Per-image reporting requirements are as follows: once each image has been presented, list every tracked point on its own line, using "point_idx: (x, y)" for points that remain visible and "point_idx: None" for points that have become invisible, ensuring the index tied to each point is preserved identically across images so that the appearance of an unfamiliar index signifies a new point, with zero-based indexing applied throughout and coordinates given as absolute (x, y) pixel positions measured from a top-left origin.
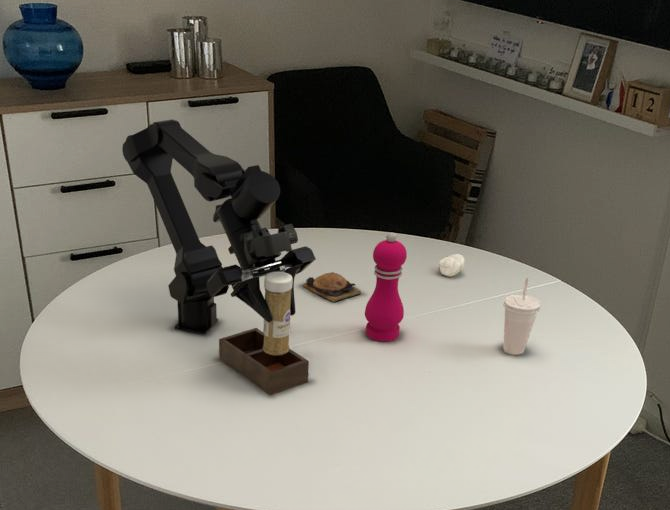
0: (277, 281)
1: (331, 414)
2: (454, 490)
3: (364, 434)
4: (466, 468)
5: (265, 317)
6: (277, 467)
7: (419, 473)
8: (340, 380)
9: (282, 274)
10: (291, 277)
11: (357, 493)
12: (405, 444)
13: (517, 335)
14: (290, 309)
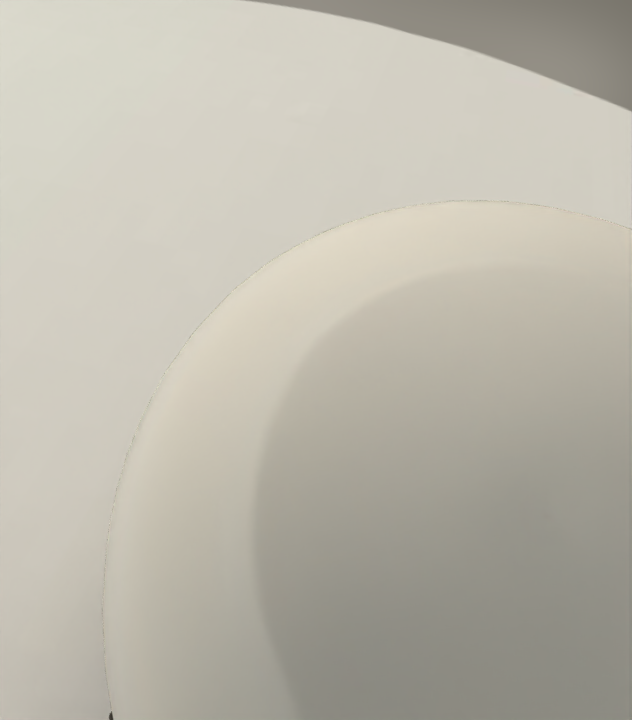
0: (605, 225)
1: (214, 307)
2: (98, 13)
3: (170, 200)
4: (20, 52)
5: None
6: (441, 142)
7: (131, 61)
8: (62, 519)
9: (393, 670)
10: (175, 387)
11: (293, 45)
12: (92, 143)
13: None
14: None
